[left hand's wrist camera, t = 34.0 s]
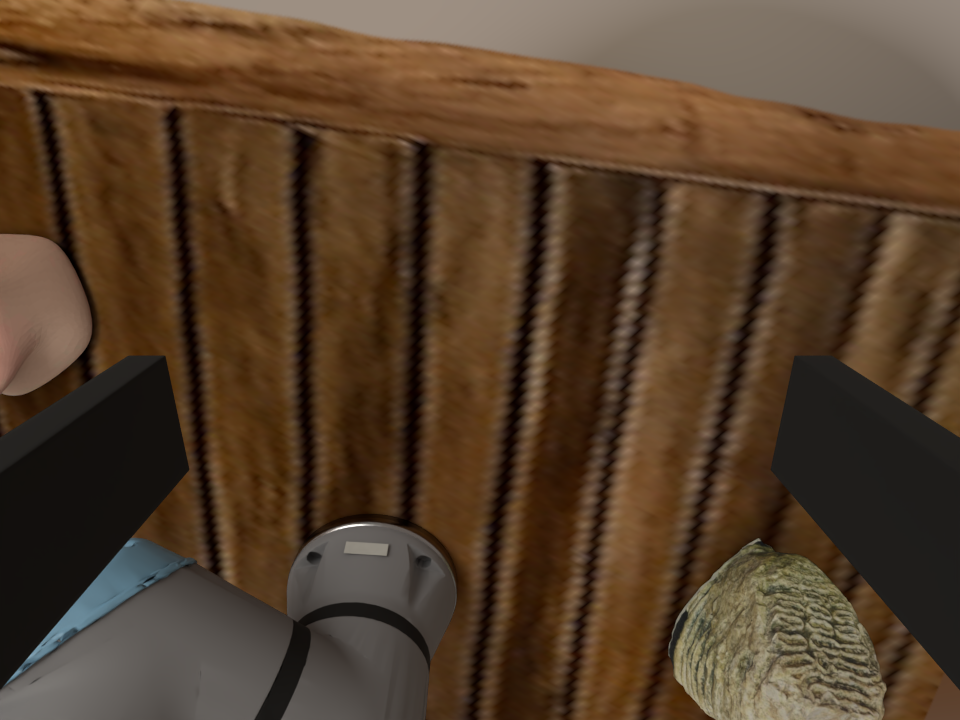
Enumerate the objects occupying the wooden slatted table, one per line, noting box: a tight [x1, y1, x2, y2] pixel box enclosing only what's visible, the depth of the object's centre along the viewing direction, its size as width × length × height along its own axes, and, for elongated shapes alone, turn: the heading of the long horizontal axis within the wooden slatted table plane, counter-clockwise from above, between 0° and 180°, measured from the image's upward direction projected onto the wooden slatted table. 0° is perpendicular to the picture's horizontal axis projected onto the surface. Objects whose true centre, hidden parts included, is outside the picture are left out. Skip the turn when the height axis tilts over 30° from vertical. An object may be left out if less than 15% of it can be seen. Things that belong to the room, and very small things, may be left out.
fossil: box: [669, 538, 887, 720], centre depth 48 cm, size 9×18×15 cm, turn 168°
